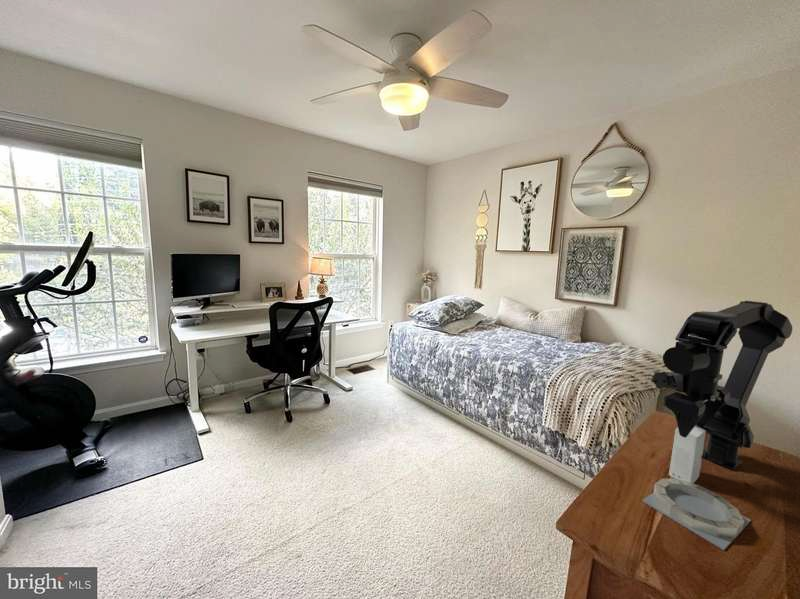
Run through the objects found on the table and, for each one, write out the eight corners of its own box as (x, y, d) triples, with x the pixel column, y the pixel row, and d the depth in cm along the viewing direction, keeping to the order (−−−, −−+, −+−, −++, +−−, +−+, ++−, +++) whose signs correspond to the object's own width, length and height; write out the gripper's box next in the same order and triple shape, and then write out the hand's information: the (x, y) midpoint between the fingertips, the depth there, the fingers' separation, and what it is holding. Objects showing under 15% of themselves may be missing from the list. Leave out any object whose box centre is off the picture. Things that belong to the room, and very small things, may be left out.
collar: (671, 479, 76) (672, 472, 76) (750, 520, 65) (752, 512, 64) (642, 499, 70) (643, 490, 69) (725, 548, 58) (727, 538, 58)
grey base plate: (672, 480, 76) (672, 479, 76) (750, 521, 65) (750, 519, 65) (641, 501, 69) (642, 500, 69) (723, 550, 58) (724, 549, 58)
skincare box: (690, 486, 74) (699, 437, 73) (666, 475, 78) (674, 428, 76) (699, 477, 78) (708, 430, 76) (676, 466, 82) (684, 421, 80)
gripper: (677, 352, 86) (668, 408, 88) (641, 363, 76) (633, 424, 79) (736, 366, 76) (724, 428, 78) (703, 379, 67) (691, 449, 69)
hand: (691, 431), depth 76 cm, fingers open, 9 cm apart
